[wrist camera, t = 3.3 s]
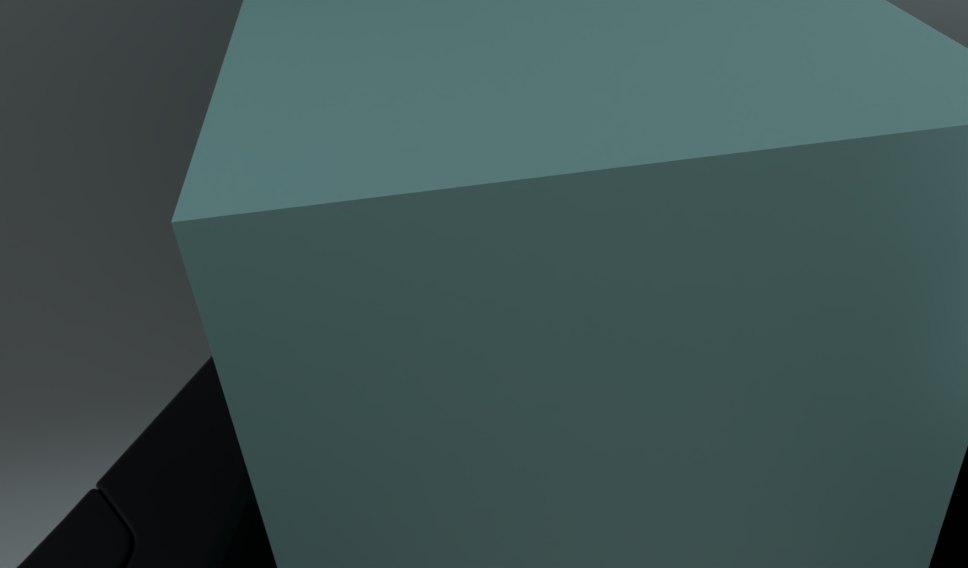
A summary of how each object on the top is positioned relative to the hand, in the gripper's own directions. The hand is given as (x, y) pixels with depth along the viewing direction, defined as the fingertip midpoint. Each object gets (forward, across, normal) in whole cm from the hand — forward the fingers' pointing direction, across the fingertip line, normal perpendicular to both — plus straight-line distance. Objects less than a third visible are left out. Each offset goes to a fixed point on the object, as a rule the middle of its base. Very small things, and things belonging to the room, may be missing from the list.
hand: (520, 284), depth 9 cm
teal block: (+1, 0, 0) cm, 1 cm away
